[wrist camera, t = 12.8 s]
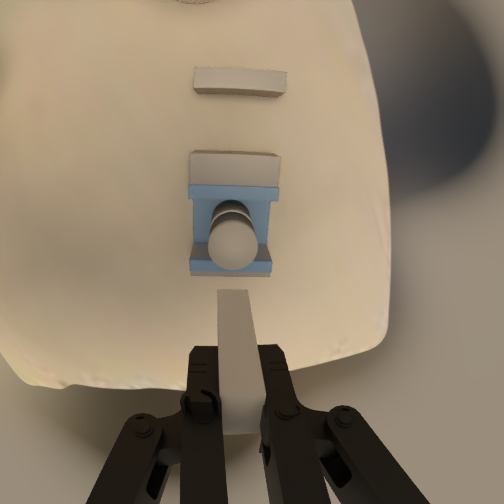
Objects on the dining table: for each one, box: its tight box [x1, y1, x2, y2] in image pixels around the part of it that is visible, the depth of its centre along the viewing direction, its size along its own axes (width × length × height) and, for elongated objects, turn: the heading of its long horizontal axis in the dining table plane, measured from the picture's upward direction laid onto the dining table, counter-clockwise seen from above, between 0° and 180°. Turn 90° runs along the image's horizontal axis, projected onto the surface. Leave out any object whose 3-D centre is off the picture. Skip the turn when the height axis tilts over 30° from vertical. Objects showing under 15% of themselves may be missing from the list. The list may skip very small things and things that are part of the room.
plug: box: [208, 200, 258, 270], centre depth 27 cm, size 4×4×8 cm
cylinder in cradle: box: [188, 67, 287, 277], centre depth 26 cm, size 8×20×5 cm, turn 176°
